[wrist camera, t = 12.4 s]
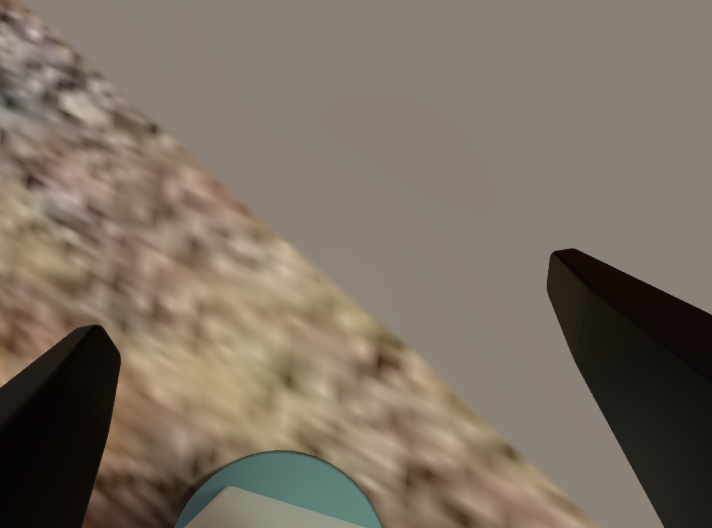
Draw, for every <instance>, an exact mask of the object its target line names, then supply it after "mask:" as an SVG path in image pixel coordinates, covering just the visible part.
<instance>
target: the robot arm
mask: <svg viewBox="0 0 712 528" xmlns="http://www.w3.org/2000/svg"><path fill="white" fill-rule="evenodd" d="M547 292H548V296H549V298H550V301H551V303H552V306H553V308H554V311H555V313H556V316H557V319H558V321H559V323H560V326H561V329H562V331H563V334H564V336H565V339H566V341H567V344H568V346H569V349H570V351H571V354H572V356H573V358H574V361H575V363H576V365H577V367H578V369H579V371H580V373H581V374H582V376H583V378H584V380H585V382H586V384H587V386H588V387H589V389H590V391H591V393H592V395H593V397H594V398H595V400H596V402H597V404H598V406H599V408H600V409H601V411H602V413H603V415H604V417H605V419H606V420H607V422H608V424H609V426H610V428H611V430H612V432H613V433H614V435H615V437H616V439H617V441H618V443H619V445H620V446H621V448H622V450H623V452H624V454H625V456H626V458H627V459H628V461H629V463H630V465H631V467H632V469H633V470H634V472H635V474H636V476H637V478H638V480H639V482H640V483H641V485H642V487H643V489H644V491H645V493H646V494H647V496H648V498H649V500H650V502H651V504H652V505H653V507H654V509H655V511H656V513H657V515H658V517H659V518H660V520H661V522H662V524H663V526H664V528H712V315H711V314H709V313H707V312H705V311H703V310H701V309H699V308H697V307H695V306H693V305H691V304H689V303H687V302H684V301H682V300H680V299H678V298H676V297H674V296H672V295H670V294H668V293H666V292H664V291H662V290H659V289H658V288H656V287H653V286H651V285H649V284H647V283H645V282H643V281H641V280H638V279H637V278H635V277H633V276H631V275H628V274H626V273H624V272H622V271H620V270H618V269H616V268H614V267H612V266H610V265H608V264H606V263H604V262H602V261H600V260H597V259H595V258H593V257H591V256H589V255H587V254H585V253H583V252H581V251H579V250H577V249H573V248H570V249H564V250H558V251H554V252H553V253H552V254H551V256H550V261H549V269H548V278H547ZM120 366H121V356H120V353H119V351H118V349H117V348H116V346H115V344H114V343H113V341H112V340H111V338H110V337H109V335H108V334H107V332H106V331H105V329H104V328H103V327H102V326H100V325H89V326H83V327H79V328H76V329H75V330H74V331H72V332H71V333H70V334H68V335H67V336H66V337H65V338H63V339H62V340H61V341H60V342H58V343H57V344H56V345H54V346H53V347H52V348H51V349H49V350H48V351H47V352H45V353H44V354H43V355H42V356H40V357H39V358H38V359H37V360H35V361H34V362H33V363H31V364H30V365H29V366H28V367H26V368H25V369H24V370H22V371H21V372H20V373H19V374H17V375H16V376H15V377H14V378H12V379H11V380H10V381H8V382H7V383H6V384H5V385H3V386H2V387H1V388H0V528H82V525H83V522H84V518H85V515H86V511H87V508H88V504H89V501H90V497H91V494H92V490H93V487H94V483H95V480H96V476H97V473H98V469H99V466H100V462H101V459H102V455H103V452H104V448H105V445H106V441H107V437H108V433H109V429H110V424H111V419H112V413H113V407H114V401H115V395H116V389H117V384H118V378H119V372H120Z"/></svg>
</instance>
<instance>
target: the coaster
mask: <svg viewBox="0 0 712 528" xmlns="http://www.w3.org/2000/svg"><path fill="white" fill-rule="evenodd" d="M227 486H234V487H237V488H241V489H244V490H247V491H250V492H254V493H257V494H260V495H263V496H266V497H270V498H273V499H276V500H279V501H283V502H286V503H289V504H292V505H295V506H299V507H302V508H305V509H308V510H312V511H315V512H318V513H321V514H324V515H328V516H331V517H334V518H337V519H341V520H344V521H347V522H350V523H354V524H357V525H360V526H363V527H366V528H383V527H382V525H381V522H380V519H379V517H378V515H377V513H376V511H375V509H374V507H373V505H372V504H371V502H370V501H369V499H368V498H367V496H366V495H365V493H364V492H363V491H362V490H361V489H360V487H359V486H358V485H357V484H356V483H355V482H354V481H353V480H352V479H351V478H350V477H349V476H347V475H346V474H345V473H344V472H343V471H341V470H340V469H338V468H337V467H335V466H334V465H332V464H331V463H328V462H326V461H324V460H322V459H320V458H318V457H315V456H312V455H309V454H306V453H301V452H295V451H282V450H275V451H266V452H260V453H256V454H252V455H249V456H246V457H244V458H241V459H239V460H237V461H235V462H233V463H231V464H229V465H228V466H226V467H224V468H223V469H222V470H220V471H219V472H218V473H216V474H215V475H214V476H212V477H211V478H210V479H209V480H208V481H207V482H206V483H205V484H204V485H203V486H202V487H201V488H199V489H198V490H197V491H196V493H195V494H194V495H193V497H192V498H191V499H190V500H189V502H188V503H187V504H186V506H185V508H184V509H183V511H182V513H181V514H180V516H179V518H178V520H177V522H176V525H175V527H174V528H184V527H185V526H186V525H188V524H189V523H190V522H191V521H192V520H193V519H194V518H195V517H196V516H197V515H198V514H199V513H200V512H201V511H202V510H203V509H204V508H205V507H206V506H207V505H208V504H209V503H210V502H211V501H212V500H213V499H214V498H215V497H216V496H217V495H218V494H219V493H220V492H221V491H222V490H223V489H224V488H226V487H227Z"/></svg>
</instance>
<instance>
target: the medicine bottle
mask: <svg viewBox="0 0 712 528" xmlns="http://www.w3.org/2000/svg"><path fill="white" fill-rule="evenodd" d="M184 528H366V527H363V526H360V525H357V524H354V523H350V522H347V521H344V520H341V519H337V518H334V517H331V516H328V515H324V514H321V513H318V512H315V511H312V510H308V509H305V508H302V507H299V506H295V505H292V504H289V503H286V502H283V501H279V500H276V499H273V498H270V497H266V496H263V495H260V494H257V493H254V492H250V491H247V490H244V489H241V488H237V487H234V486H227V487H226V488H224V489H223V490H222V491H221V492H220V493H219V494H218V495H217V496H216V497H215V498H214V499H213V500H212V501H211V502H210V503H209V504H208V505H207V506H206V507H205V508H204V509H203V510H202V511H201V512H200V513H199V514H198V515H197V516H196V517H195V518H194V519H193V520H192V521H191V522H190V523H189V524H188V525H186V526H185V527H184Z"/></svg>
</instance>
